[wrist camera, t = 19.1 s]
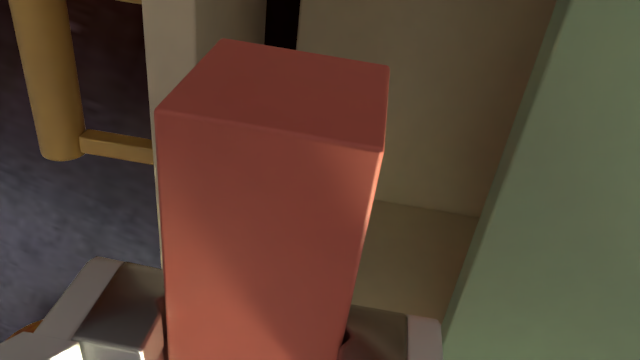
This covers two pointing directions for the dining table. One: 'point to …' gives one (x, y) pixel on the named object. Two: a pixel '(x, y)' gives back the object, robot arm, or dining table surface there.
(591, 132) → the cabinet
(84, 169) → the dining table surface
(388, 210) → the drawer
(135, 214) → the dining table surface
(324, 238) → the red rectangular block
